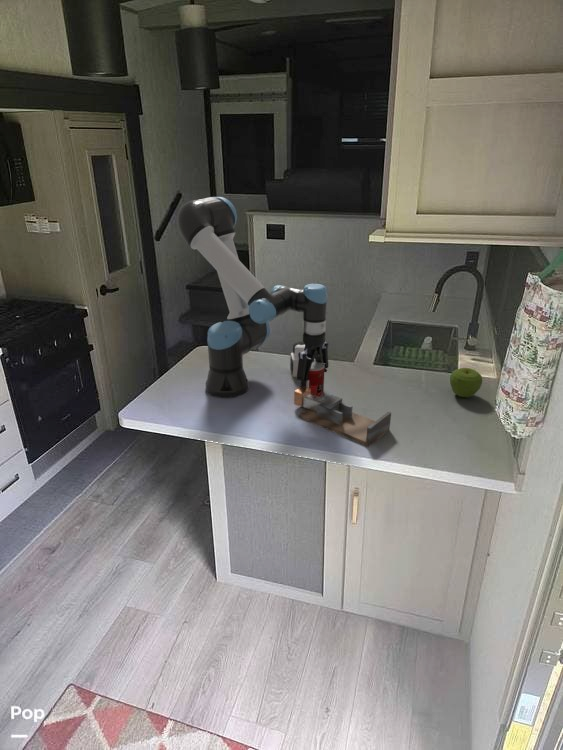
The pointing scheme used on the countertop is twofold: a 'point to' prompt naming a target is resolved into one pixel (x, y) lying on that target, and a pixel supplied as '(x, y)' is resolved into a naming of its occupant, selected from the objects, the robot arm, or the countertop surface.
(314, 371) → the canned food
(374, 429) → the bearing rail
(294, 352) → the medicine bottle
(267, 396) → the countertop surface
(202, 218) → the robot arm
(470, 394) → the apple
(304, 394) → the shaft
